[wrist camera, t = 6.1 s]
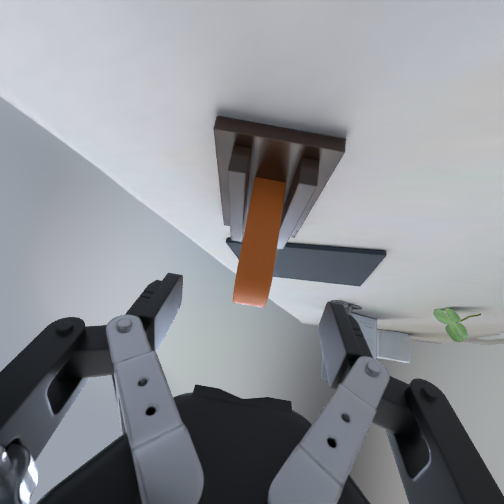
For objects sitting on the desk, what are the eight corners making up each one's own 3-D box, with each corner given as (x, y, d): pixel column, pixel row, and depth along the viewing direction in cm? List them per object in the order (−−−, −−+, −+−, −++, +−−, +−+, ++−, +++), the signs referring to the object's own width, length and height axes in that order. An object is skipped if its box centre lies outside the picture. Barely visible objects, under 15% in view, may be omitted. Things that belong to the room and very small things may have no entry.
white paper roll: (365, 328, 107) (365, 355, 103) (409, 333, 98) (410, 363, 95) (370, 332, 119) (370, 356, 115) (409, 336, 111) (410, 363, 107)
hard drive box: (324, 310, 80) (319, 379, 74) (344, 310, 74) (340, 386, 67) (357, 319, 87) (355, 383, 81) (378, 319, 81) (378, 390, 74)
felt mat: (386, 250, 30) (386, 255, 30) (360, 283, 45) (360, 286, 45) (226, 238, 35) (225, 242, 35) (250, 271, 50) (249, 274, 50)
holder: (217, 115, 16) (206, 155, 15) (346, 138, 16) (343, 180, 15) (225, 217, 29) (220, 241, 28) (295, 229, 29) (292, 254, 28)
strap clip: (329, 300, 65) (327, 317, 63) (338, 300, 62) (337, 317, 61) (353, 307, 68) (352, 323, 67) (363, 307, 65) (362, 324, 64)
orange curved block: (254, 176, 19) (232, 295, 16) (286, 182, 19) (269, 302, 16) (250, 213, 25) (232, 306, 22) (274, 217, 25) (260, 311, 22)
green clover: (459, 288, 54) (431, 300, 54) (500, 309, 47) (467, 324, 46) (460, 314, 57) (433, 325, 57) (498, 338, 49) (468, 351, 49)
